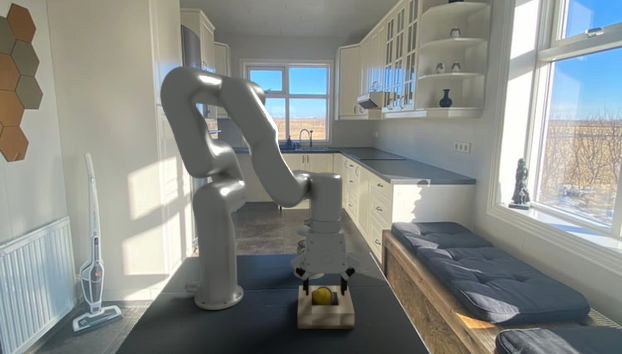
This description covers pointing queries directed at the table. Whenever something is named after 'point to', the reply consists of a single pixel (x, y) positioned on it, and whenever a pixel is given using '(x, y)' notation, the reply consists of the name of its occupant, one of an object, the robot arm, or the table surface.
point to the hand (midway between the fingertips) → (324, 292)
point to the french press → (301, 244)
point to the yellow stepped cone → (323, 297)
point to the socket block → (325, 310)
